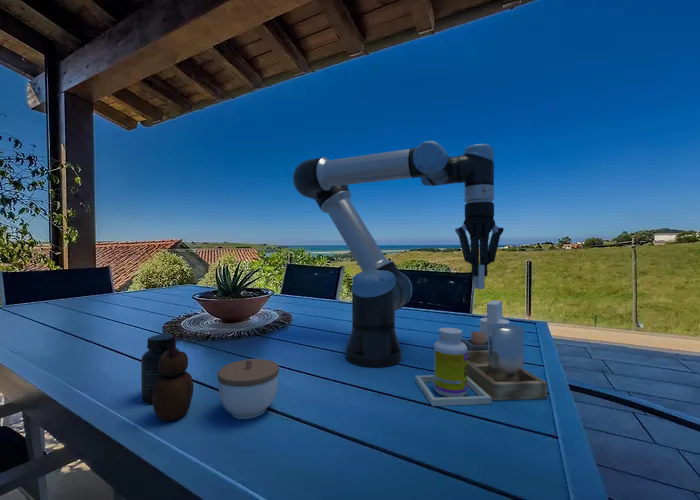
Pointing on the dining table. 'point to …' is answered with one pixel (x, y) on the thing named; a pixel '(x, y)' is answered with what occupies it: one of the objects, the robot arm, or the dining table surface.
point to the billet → (505, 352)
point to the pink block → (478, 338)
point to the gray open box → (474, 347)
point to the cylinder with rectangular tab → (492, 316)
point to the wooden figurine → (172, 385)
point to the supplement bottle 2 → (450, 363)
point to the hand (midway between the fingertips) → (479, 288)
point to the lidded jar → (248, 387)
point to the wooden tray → (503, 390)
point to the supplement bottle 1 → (153, 363)
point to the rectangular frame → (448, 401)
